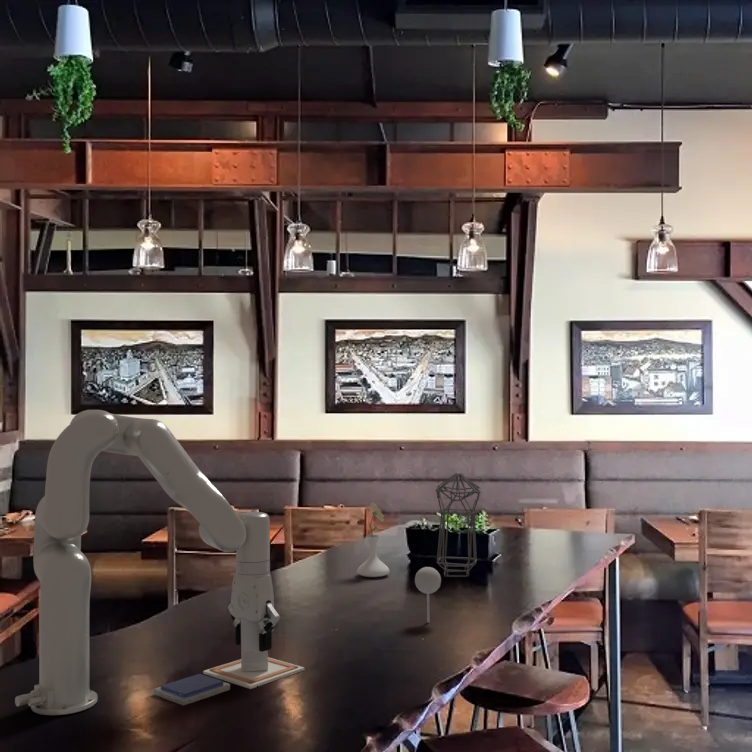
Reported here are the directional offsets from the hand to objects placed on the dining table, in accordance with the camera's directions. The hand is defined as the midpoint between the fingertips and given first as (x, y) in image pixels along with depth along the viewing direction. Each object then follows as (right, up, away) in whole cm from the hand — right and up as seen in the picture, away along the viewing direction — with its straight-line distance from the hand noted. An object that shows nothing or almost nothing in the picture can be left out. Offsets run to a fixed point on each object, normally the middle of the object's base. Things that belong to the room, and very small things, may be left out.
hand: (253, 646), depth 192 cm
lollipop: (+42, -7, +41) cm, 59 cm away
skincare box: (0, -5, 0) cm, 5 cm away
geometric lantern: (+56, -8, +103) cm, 118 cm away
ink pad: (-11, -6, -13) cm, 18 cm away
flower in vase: (+27, -8, +103) cm, 106 cm away
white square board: (0, -6, 0) cm, 6 cm away
